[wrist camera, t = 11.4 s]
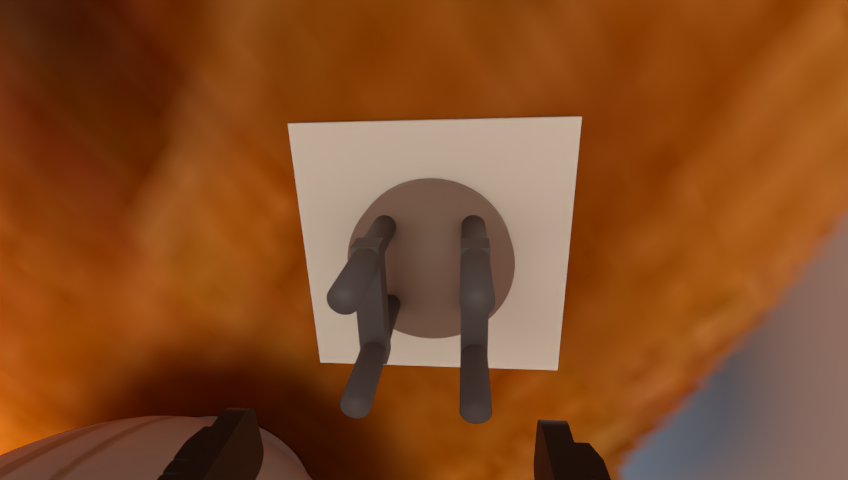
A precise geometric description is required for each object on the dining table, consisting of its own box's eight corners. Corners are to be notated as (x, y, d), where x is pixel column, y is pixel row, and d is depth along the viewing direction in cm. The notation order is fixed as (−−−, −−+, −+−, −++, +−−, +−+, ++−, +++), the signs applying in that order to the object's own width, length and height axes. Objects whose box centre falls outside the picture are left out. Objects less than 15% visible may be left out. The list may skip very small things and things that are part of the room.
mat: (323, 356, 28) (320, 362, 27) (291, 122, 23) (287, 123, 22) (555, 364, 26) (557, 370, 26) (579, 115, 21) (581, 116, 21)
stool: (347, 178, 23) (272, 239, 14) (515, 177, 22) (549, 240, 13) (360, 322, 26) (306, 446, 17) (508, 326, 25) (532, 458, 16)
